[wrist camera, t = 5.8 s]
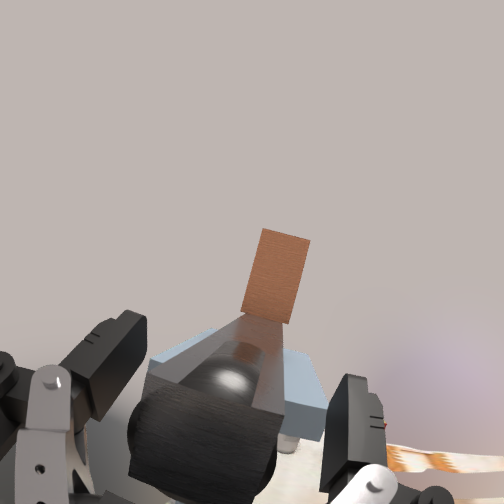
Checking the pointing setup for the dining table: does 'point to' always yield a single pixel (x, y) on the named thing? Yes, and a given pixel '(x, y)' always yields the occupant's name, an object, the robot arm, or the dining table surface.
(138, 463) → the hammer
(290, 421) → the shelf stand
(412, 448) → the dining table surface
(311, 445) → the dining table surface
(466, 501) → the dining table surface
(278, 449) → the energy drink can
